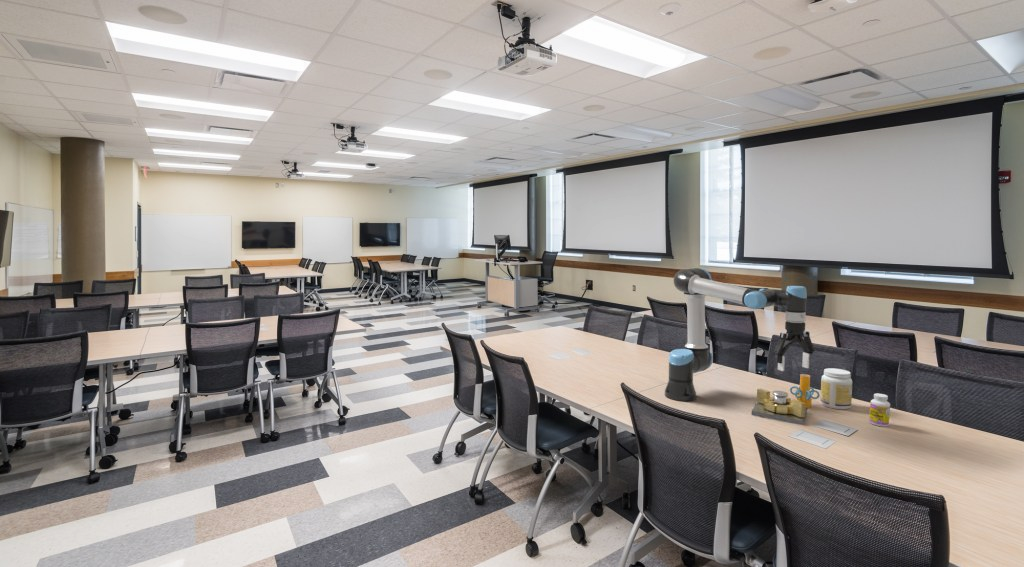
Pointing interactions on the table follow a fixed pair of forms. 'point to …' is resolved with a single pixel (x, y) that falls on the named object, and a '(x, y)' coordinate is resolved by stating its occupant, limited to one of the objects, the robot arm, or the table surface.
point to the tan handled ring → (790, 407)
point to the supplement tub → (836, 388)
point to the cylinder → (804, 391)
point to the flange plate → (779, 400)
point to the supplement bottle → (879, 410)
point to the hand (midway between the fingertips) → (793, 368)
